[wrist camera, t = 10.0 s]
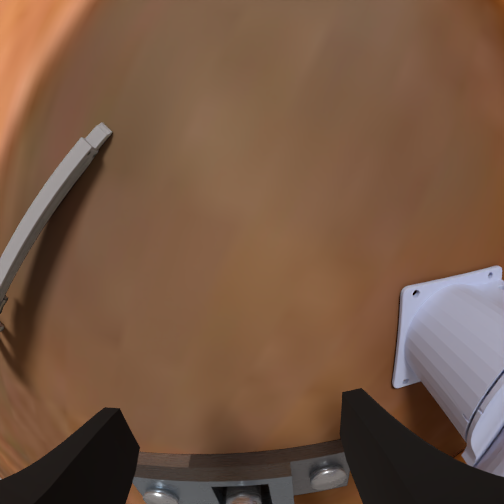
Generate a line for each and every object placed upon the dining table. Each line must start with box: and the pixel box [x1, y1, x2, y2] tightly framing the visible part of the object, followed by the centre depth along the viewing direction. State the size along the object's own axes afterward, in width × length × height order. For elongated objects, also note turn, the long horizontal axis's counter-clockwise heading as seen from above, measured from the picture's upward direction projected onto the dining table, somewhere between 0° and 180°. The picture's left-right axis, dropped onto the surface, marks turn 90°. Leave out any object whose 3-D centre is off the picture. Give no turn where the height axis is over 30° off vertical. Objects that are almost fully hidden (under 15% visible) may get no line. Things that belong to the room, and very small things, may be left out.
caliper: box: [0, 123, 112, 331], centre depth 14 cm, size 20×1×6 cm, turn 137°
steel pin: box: [226, 485, 262, 504], centre depth 18 cm, size 3×3×7 cm
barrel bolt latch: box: [133, 439, 350, 504], centre depth 19 cm, size 18×6×4 cm, turn 97°
